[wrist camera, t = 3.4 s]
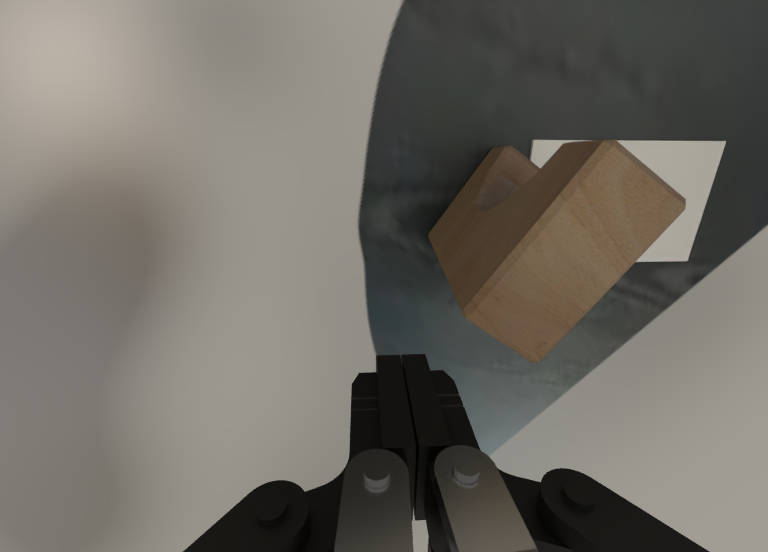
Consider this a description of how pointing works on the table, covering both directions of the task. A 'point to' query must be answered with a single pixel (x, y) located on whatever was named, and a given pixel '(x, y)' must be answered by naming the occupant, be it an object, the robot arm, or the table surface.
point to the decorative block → (548, 237)
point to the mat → (678, 169)
